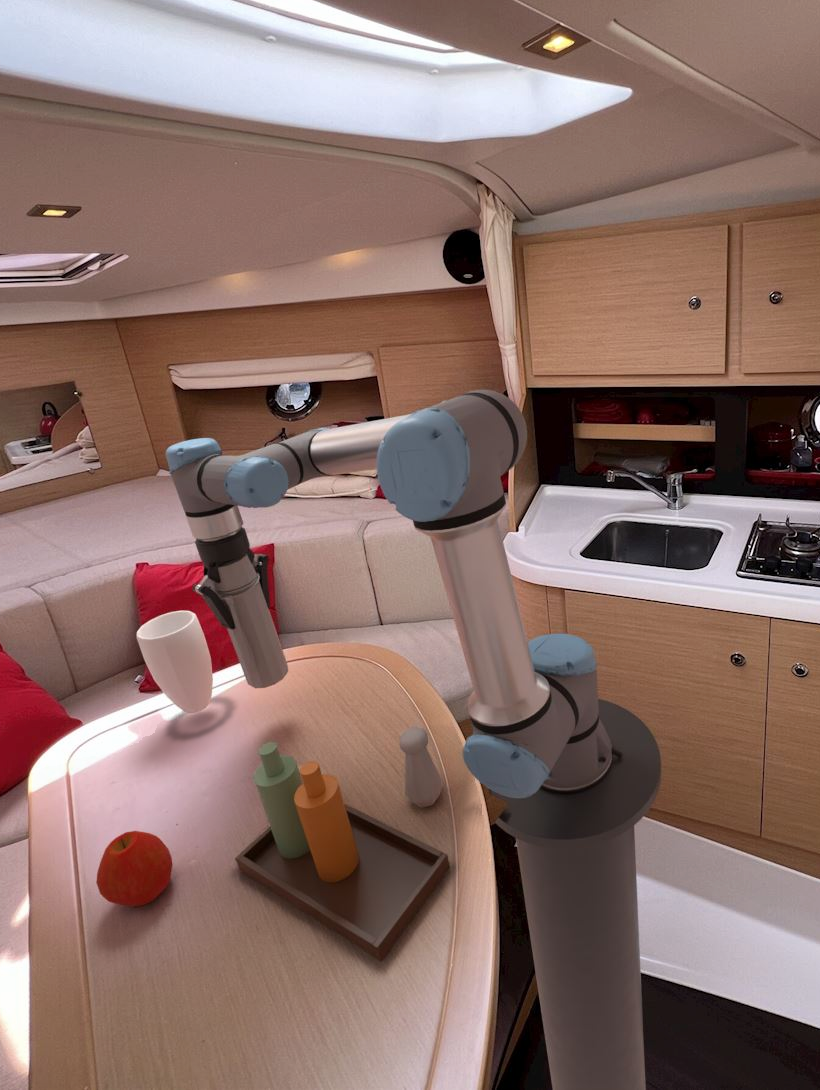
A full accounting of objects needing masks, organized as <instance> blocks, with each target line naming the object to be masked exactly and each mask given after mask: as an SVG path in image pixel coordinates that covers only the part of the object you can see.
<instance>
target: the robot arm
mask: <svg viewBox="0 0 820 1090" xmlns="http://www.w3.org/2000/svg"><path fill="white" fill-rule="evenodd" d="M527 442H528V429H527V423H526V419H525V417H524V415H523V413H522V411H521V410H520V408H519V407H518V405H517V404H516V403H515V402H514V401H513V400H512V399H511V398H509V397H508V396H506V395H505V394H503V393H500V392H498V391H494V390H491V389H475V390H470V391H467V392H464V393H462V394H460V395H458V396H455V397H453V398H450V399H446V400H443V401H440V402H439V403H436V404H433V405H431V406H428V407H426V408H423V409H419V410H415V411H414V412H412V413H409V414H403V415H398V416H393V417H386V418H382V419H377V420H371V421H365V422H360V423H354V424H349V425H343V426H338V427H333V428H329V427H319V428H314V429H309V430H306V431H304V432H302V433H300V434H298V435H295V436H293V437H290V438H287V439H285V440H282V441H279V442H275V443H273V444H270V445H267V446H264V447H261V448H258V449H255V450H252V451H250V452H249V451H248V452H246V453H244V454H239V455H226V454H223V450H222V449H221V447H220V445H219V442H218V441H216V440H215V438H211V437H202V438H194V439H188V440H184V441H180V442H177V443H174V444H172V445H170V446H168V448H167V449H166V450H165V458H166V461H167V465H168V468H169V470H168V472H169V475H170V477H171V479H172V482H173V484H174V487H175V490H176V492H177V493H176V494H177V496H178V498H179V501H180V504H181V506H182V510H183V511H184V514H185V517H186V521H187V523H188V524H187V525H188V527H189V529H190V532H191V534H192V537H193V538H194V539H195V541H194V544H195V548H196V549H197V552H198V556H199V558H200V560H201V562H202V565H203V571H202V574H203V578H202V579H201V580H200V581H199V583H195V584H193V585H192V588H191V589H192V591H193V592H195V594H198V595H200V596H201V597H202V598H203V601H204V602H205V603H206V605H207V606H208V608H209V609H210V611H211V612H212V613H213V615H214V617H215V618H216V620H217V621H218V622H219V624H220V626H221V627H223V628H226V629H227V628H229V629H232V630H233V629H235V628H236V626H235V623H234V620H233V618H232V616H231V615H230V613H229V612H228V610H227V609H226V607H225V606H224V604H223V603H222V601H221V600H220V598H219V596H218V595H217V594H216V593H215V592H214V591H213V590H214V587H213V585H212V583H211V582H212V580H213V581H215V582H217V583H220V582H221V579H220V575H219V571H218V567H220V566H222V565H224V564H226V563H228V562H230V561H232V560H234V559H236V558H238V557H240V556H242V555H244V554H247V556H248V558H249V560H250V562H251V564H252V565H253V567H254V569H255V571H256V572H257V573H258V574H259V576H260V579H259V582H260V585H261V588H262V592H263V595H264V598H265V601H266V604H267V607H268V609H269V610H270V607H271V598H270V589H269V587H270V586H269V575H268V566H269V561H270V556H269V555H267V554H262V553H255V552H254V551H253V550H252V549H251V548H250V547H251V544H250V541H249V540H250V539H249V537H248V534H247V531H246V528H245V527H243V525H244V520H243V517H242V514H241V511H240V508H239V507H243V508H248V509H250V508H251V509H258V508H261V509H263V508H266V509H267V508H271V507H274V506H276V505H277V504H279V503H280V502H281V500H282V499H283V498H284V496H286V495H287V492H288V490H291V489H292V488H294V487H297V486H300V485H301V484H303V483H306V482H309V481H310V480H313V479H316V478H321V477H322V478H323V477H329V476H334V475H335V476H336V475H343V474H350V473H358V472H365V471H375V470H376V473H377V479H378V482H379V486H380V489H381V491H382V493H383V495H384V497H385V499H386V500H387V503H389V505H395V511H396V512H397V513H398V514H400V515H401V516H403V517H404V518H407V519H409V520H411V521H412V523H413V526H414V529H415V530H416V531H417V532H419V533H422V534H424V535H426V536H428V537H429V538H430V542H431V545H432V547H433V551H434V555H435V558H436V561H437V565H438V569H439V571H440V575H441V576H440V577H441V579H442V582H443V586H444V589H445V594H446V597H447V601H448V604H449V607H450V610H451V614H452V618H453V621H454V624H455V628H456V631H457V632H456V633H457V635H458V639H459V642H460V645H461V648H462V649H461V650H462V652H463V657H464V660H465V663H466V666H467V671H468V673H469V678H470V680H471V685H472V688H473V691H472V693H471V694H470V696H469V698H468V701H467V711H468V715H469V719H470V722H471V725H472V729H473V730H472V734H471V735H470V736H468V737H467V738H466V740H465V743H464V745H463V748H462V759H463V762H464V765H465V766H466V768H467V769H468V771H469V772H470V774H471V775H472V776H473V777H474V778H475V779H476V780H477V781H478V782H479V783H481V784H482V785H483V786H484V787H486V788H487V789H488V790H489V789H490V790H492V791H494V792H496V793H498V794H501V795H503V796H507V797H511V798H526V797H529V796H531V795H532V794H534V793H536V792H537V791H538V789H539V788H542V789H544V790H546V791H549V792H552V793H557V794H574V793H579V792H583V791H586V790H588V789H590V788H592V787H594V786H595V785H597V784H598V783H600V782H601V781H602V780H603V779H604V778H605V777H606V775H607V774H608V772H609V770H610V768H611V765H612V760H613V754H614V755H616V756H618V757H619V758H621V757H622V753H621V752H619V751H617V750H616V749H614V748H612V746H611V742H610V739H609V736H608V734H607V732H606V730H605V728H604V726H603V724H602V722H601V720H600V718H599V706H598V699H599V691H598V690H599V689H598V688H599V687H598V673H597V669H598V663H597V661H596V656H595V650H594V648H593V647H592V646H591V645H590V643H589V642H588V641H586V639H584V638H581V637H580V636H577V635H573V634H570V633H569V634H568V633H550V634H549V633H548V634H543V635H540V636H537V637H534V638H532V639H531V640H528V639H527V634H526V630H525V627H524V622H523V618H522V613H521V610H520V605H519V602H518V598H517V594H516V593H517V592H516V589H515V585H514V581H513V577H512V572H511V568H510V564H509V561H508V557H507V553H506V548H505V544H504V539H503V535H502V532H501V527H500V523H499V518H500V516H501V515H502V513H503V512H504V511H505V509H506V507H507V501H506V496H505V492H504V487H503V483H502V479H501V476H503V475H505V474H506V473H507V472H509V471H510V470H512V469H513V468H514V467H515V466H516V465H517V464H518V463H519V461H520V460H521V458H522V456H523V454H524V452H525V449H526V446H527Z"/></svg>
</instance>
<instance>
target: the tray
mask: <svg viewBox="0 0 820 1090" xmlns="http://www.w3.org/2000/svg"><path fill="white" fill-rule="evenodd" d="M344 805H345V808H346V812H347V815H348V819H349V822H350V826H351V829H352V833H353V836H354V840H355V843H356V847H357V850H358V853H359V861H358V864H357V866H356V868H355V869H354V871H353V872H352V873H351V874H350V875H349V876H348V877H346V878H344V879H343V880H340V881H338V882H332V883H329V882H325V881H323V880H322V879H321V878H320V877H319V875H318V872H317V868H316V865H315V862H314V859H313V856H312V853H311V850H310V851H309V852H307V853H306V854H304V855H303V856H300V857H298V858H293V859H288V858H284V857H283V856H281V854H280V853H279V850H278V847H277V844H276V842H275V839H274V836H273V833H272V830H271V828H270V825H269V826H268V827H267V828H265V830H264V831H263V832H261V834H259V835H258V837H256V838H255V839H254V840H253V841H252V842H250V844H249V845H247V846H246V847H245V848H244V849H243V850H242V851H241V852H240V853H239V854H238V855H237V856H236V857H234V859H235V862H236V865H237V867H238V869H239V871H240V872H241V873H242V874H244V875H246V876H247V877H249V878H251V879H252V880H254V881H255V882H257V883H259V884H260V885H262V886H263V887H265V889H268V890H269V891H271V892H272V893H274V894H275V895H277V896H278V897H280V898H281V899H283V900H284V901H287V903H289V904H291V905H292V906H294V907H296V908H297V909H299V910H300V911H302V912H303V913H305V914H307V915H308V916H309V917H310V918H313V919H314V920H316V921H318V922H319V923H321V925H323V926H325V927H326V928H329V929H330V930H331V931H333V932H334V933H336V934H338V935H339V936H341V937H342V938H344V939H345V940H347V941H349V942H350V943H351V944H353V945H355V946H356V947H358V948H359V949H361V950H362V951H364V952H365V953H367V954H369V955H370V956H372V958H373V957H374V958H375V959H376V960H378V961H380V962H382V961H383V960H384V959H385V957H386V956H387V955H388V953H389V952H390V950H392V948H393V947H394V945H395V944H396V942H397V941H398V939H400V937H401V935H402V934H403V932H404V931H405V930H406V928H408V926H409V924H410V923H411V922H412V920H413V919H414V918H415V916H416V915H417V913H419V911H420V910H421V908H422V907H423V906H424V904H425V903H426V901H427V900H428V899H429V898H430V896H431V895H432V893H433V892H434V890H435V889H436V888H437V886H438V885H439V884H440V882H441V881H442V879H443V878H444V877H445V876H446V874H447V873H448V871H449V870H450V869H451V865H450V860H449V855H448V854H447V853H445V852H443V851H441V850H439V849H437V848H435V847H434V846H431V845H429V844H427V843H425V842H423V841H420V840H419V839H416V838H414V837H412V836H411V835H409V834H406V833H405V832H403V831H400V830H398V829H397V828H394V827H393V826H390V825H388V824H386V823H384V822H382V821H380V820H378V819H376V818H374V817H372V816H371V815H368V814H367V813H364V812H362V811H360V810H358V809H356V808H354V807H352V806H351V805H348V804H346V803H344Z"/></svg>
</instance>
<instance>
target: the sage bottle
mask: <svg viewBox="0 0 820 1090" xmlns="http://www.w3.org/2000/svg"><path fill="white" fill-rule="evenodd" d="M257 753H258V755H259V758H260V761H261V765H259V766H258V767H257V769H256V770H255V772H254V773H253V783H254V786H255V788H256V791H257V794H258V796H259V800H260V802H261V805H262V807H263V810H264V813H265V816H266V820H267V823H268V825H269V826H270V828H271V830H272V833H273V836H274V839H275V842H276V844H277V847H278V850H279V853H280V854H281V856H283V857H284V858H288V859H293V858H298V857H300V856H303V855H304V854H306V853H307V852H309V851H310V847H309V844H308V841H307V838H306V835H305V832H304V829H303V826H302V823H301V820H300V817H299V814H298V811H297V808H296V805H295V802H294V796H295V793H296V791H297V789H298V788H299V787H300V785H301V784H303V781H302V778H301V775H300V769H299V766H298V763H297V760H296V759H295V757H293V756H292V755H287V754H281V752H280V750H279V747H278V743H276V742H275V741H269V742H266V743H264V744H263V745H261V746H260V747H259V749H258V752H257Z"/></svg>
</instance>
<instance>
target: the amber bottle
mask: <svg viewBox="0 0 820 1090" xmlns="http://www.w3.org/2000/svg"><path fill="white" fill-rule="evenodd" d="M299 772H300V775H301V778H302V782H303V784H301V785H300V787H299V788H298V789H297V791H296V793H295V796H294V802H295V805H296V808H297V811H298V814H299V817H300V820H301V823H302V826H303V829H304V832H305V835H306V838H307V841H308V844H309V847H310V850H311V853H312V856H313V859H314V862H315V865H316V868H317V872H318V875H319V877H320V878H321V879H322V880H323V881H325V882H329V883H332V882H338V881H340V880H343V879H344V878H346V877H348V876H349V875H350V874H351V873H352V872H353V871H354V869H355V868H356V866H357V864H358V861H359V853H358V850H357V847H356V843H355V840H354V836H353V833H352V829H351V826H350V822H349V819H348V815H347V812H346V808H345V805H344V804H345V801H344V798H343V795H342V791H341V787H340V784H339V781H338V779H337V777H335V776H334V775H331V774H328V773H322V771H321V767H320V764H319V762H317V760H311V761H307V762H306V763H304V764H303V765H302V766H301V767H300V769H299Z"/></svg>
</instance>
